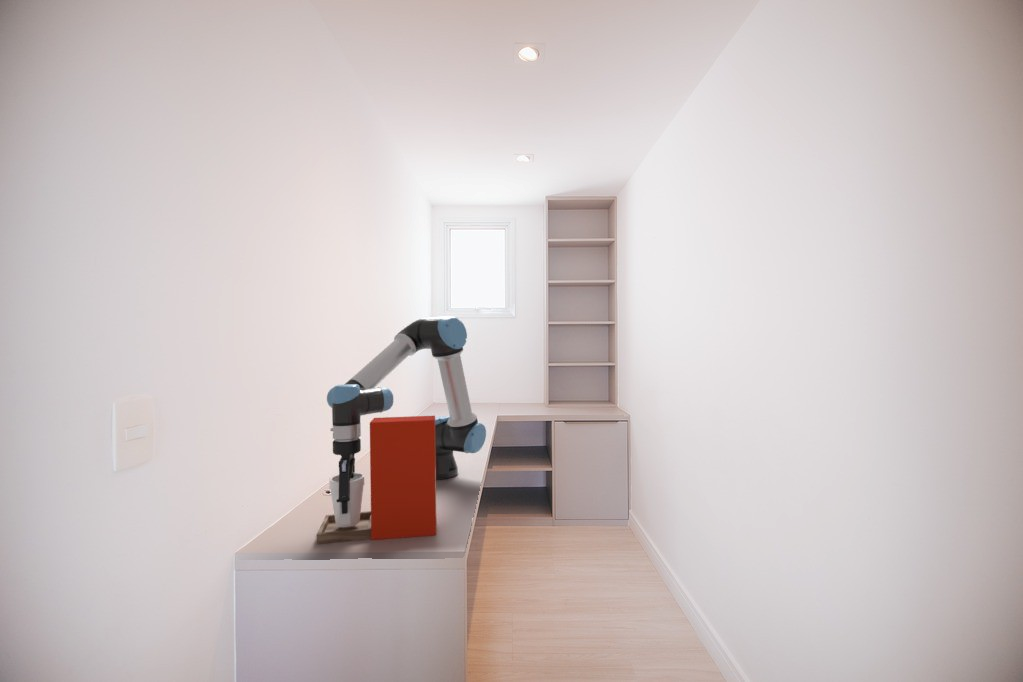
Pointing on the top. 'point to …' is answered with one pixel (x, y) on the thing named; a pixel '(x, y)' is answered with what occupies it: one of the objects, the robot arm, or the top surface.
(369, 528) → the square wooden tray
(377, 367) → the robot arm
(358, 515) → the foam cup
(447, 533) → the top surface
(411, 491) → the file binder
